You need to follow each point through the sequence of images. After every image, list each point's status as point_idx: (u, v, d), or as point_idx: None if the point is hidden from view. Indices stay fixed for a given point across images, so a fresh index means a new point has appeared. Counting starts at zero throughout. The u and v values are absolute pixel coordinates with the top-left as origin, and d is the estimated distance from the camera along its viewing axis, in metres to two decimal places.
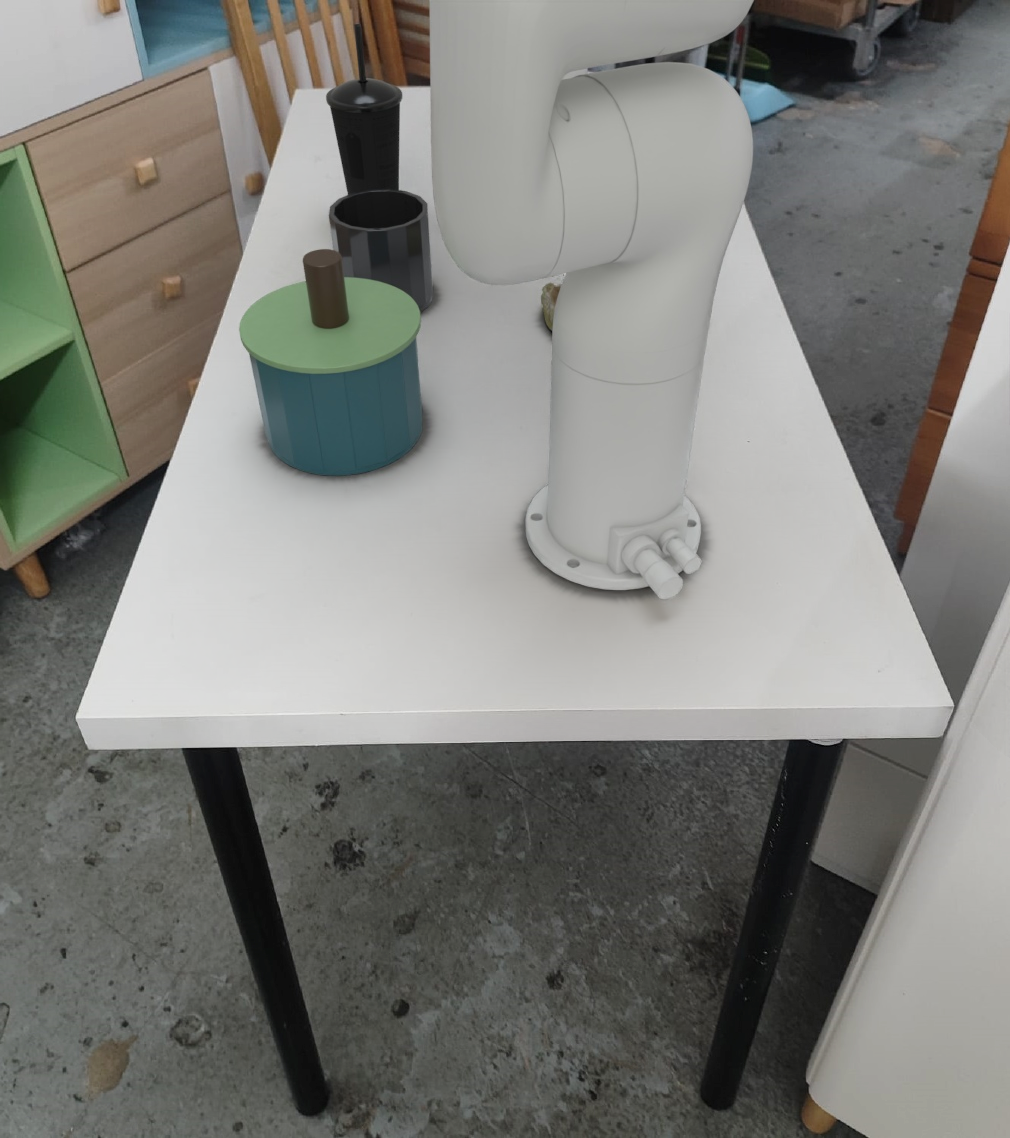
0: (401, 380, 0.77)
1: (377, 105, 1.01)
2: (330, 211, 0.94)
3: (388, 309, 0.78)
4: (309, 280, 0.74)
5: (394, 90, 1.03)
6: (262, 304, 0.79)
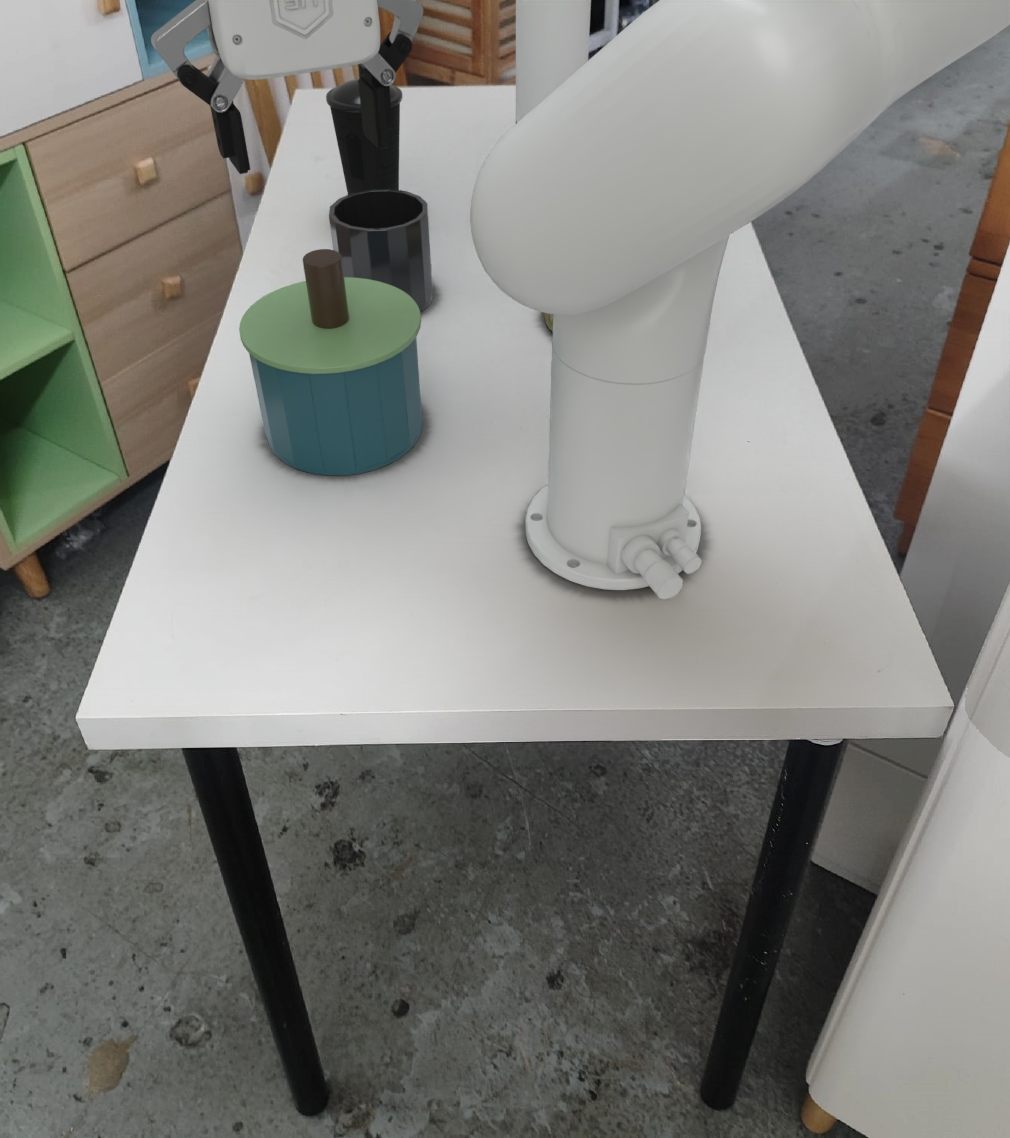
0: (401, 380, 0.77)
1: None
2: (330, 211, 0.94)
3: (388, 309, 0.78)
4: (309, 280, 0.74)
5: (394, 90, 1.03)
6: (262, 304, 0.79)
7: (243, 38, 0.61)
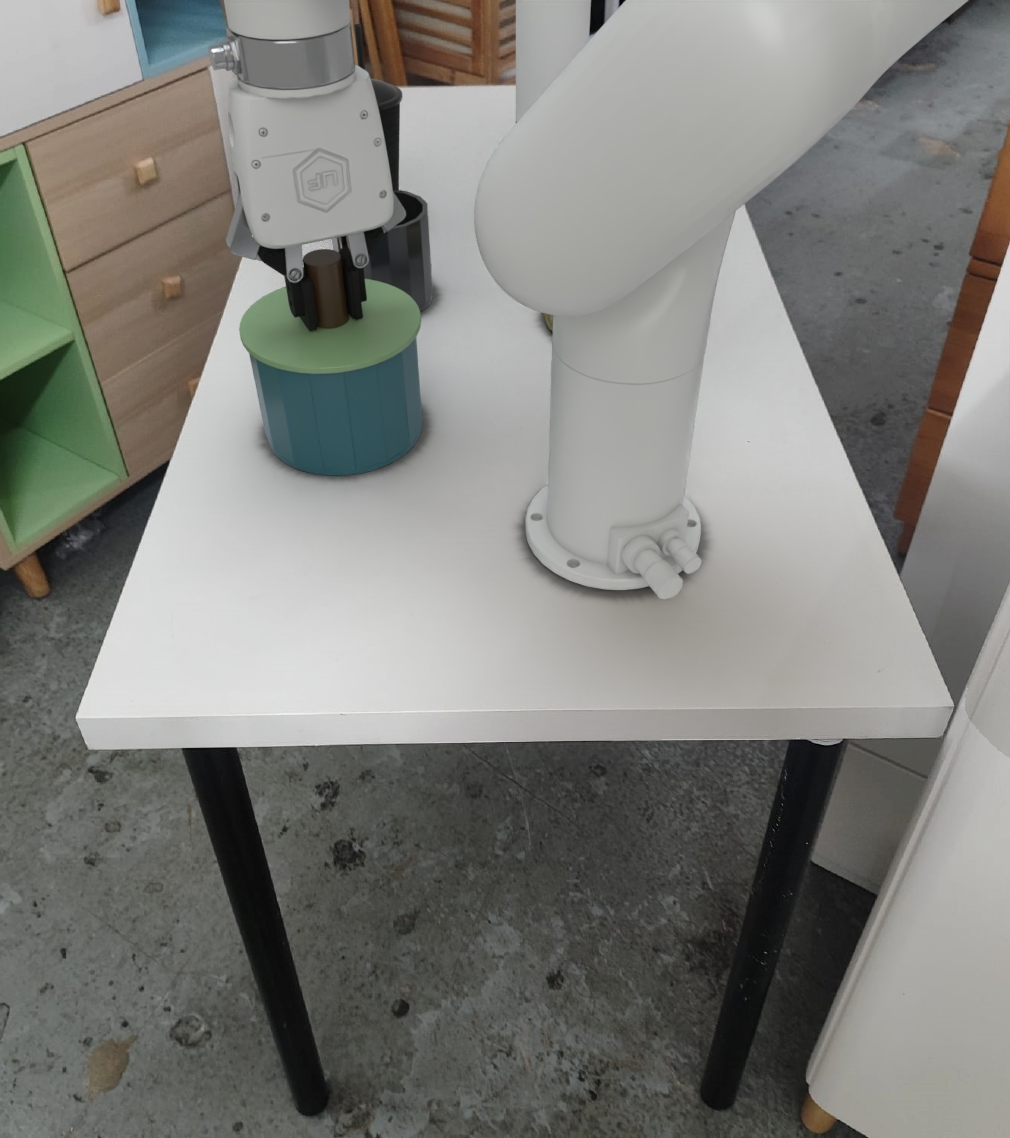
0: (401, 380, 0.77)
1: None
2: None
3: (388, 309, 0.78)
4: None
5: (394, 90, 1.03)
6: (262, 304, 0.79)
7: (271, 216, 0.68)
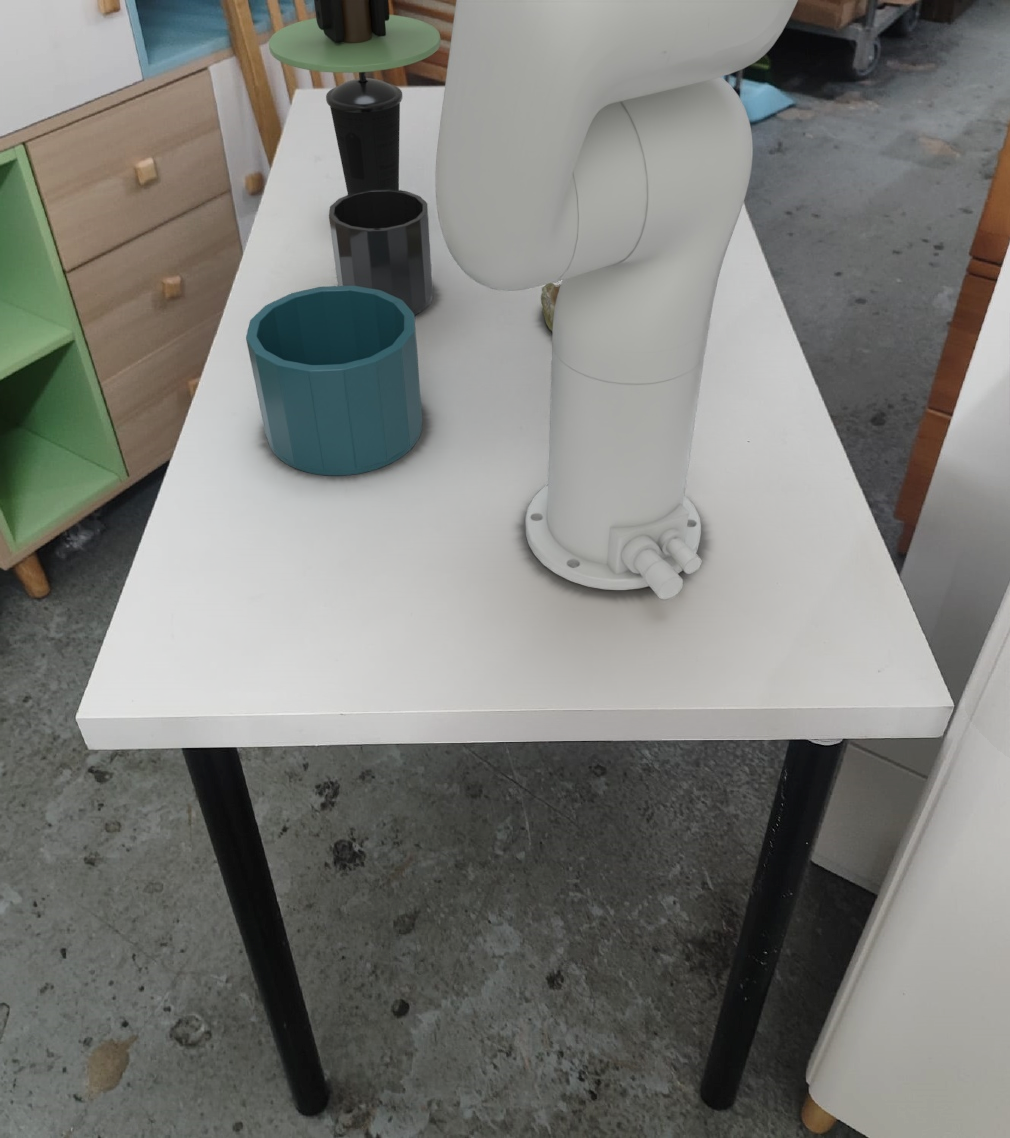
0: (401, 380, 0.77)
1: (377, 105, 1.01)
2: (330, 211, 0.94)
3: (409, 31, 0.83)
4: None
5: (394, 90, 1.03)
6: (289, 29, 0.83)
7: None
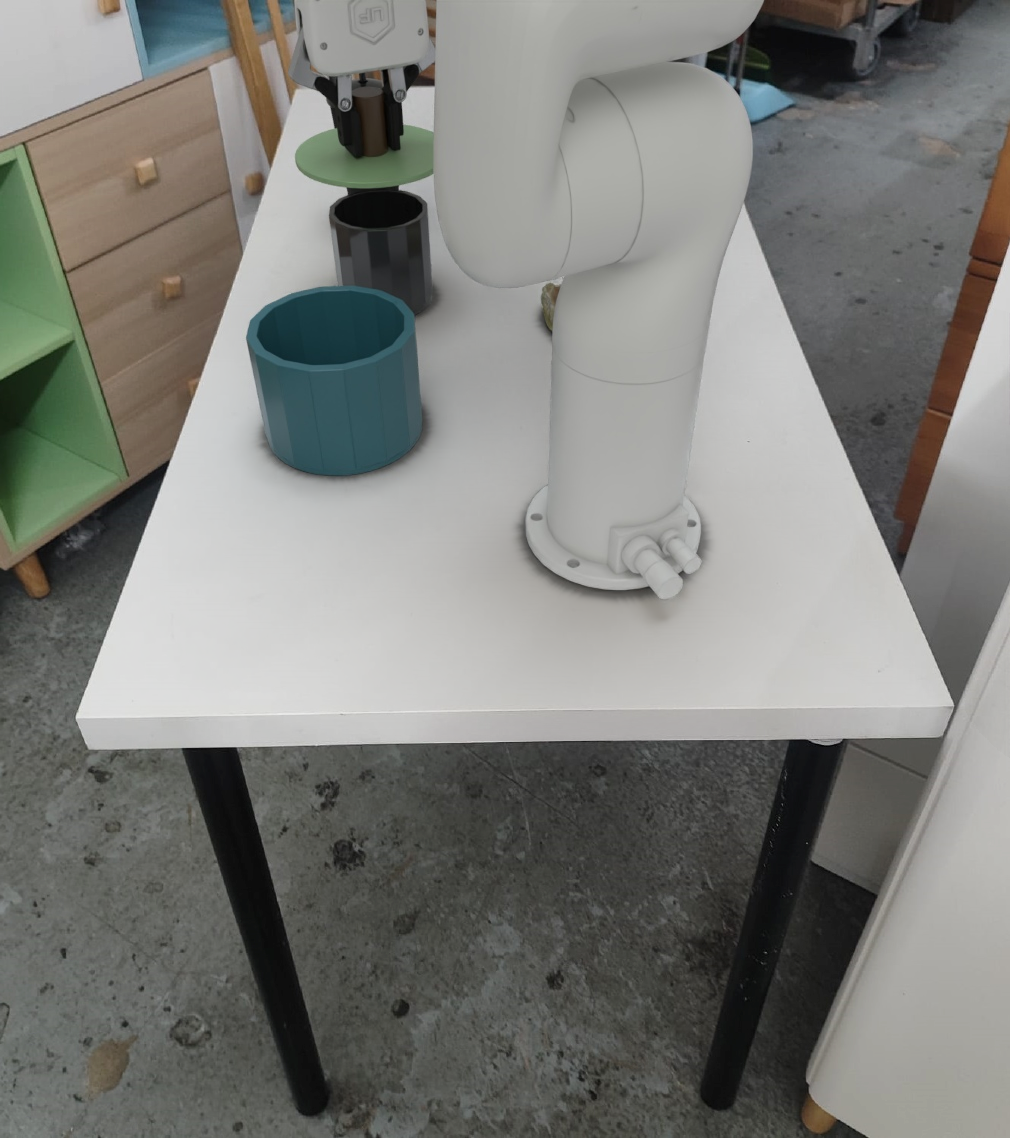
0: (401, 380, 0.77)
1: None
2: (330, 211, 0.94)
3: (421, 144, 0.92)
4: None
5: None
6: (313, 141, 0.92)
7: (328, 45, 0.81)
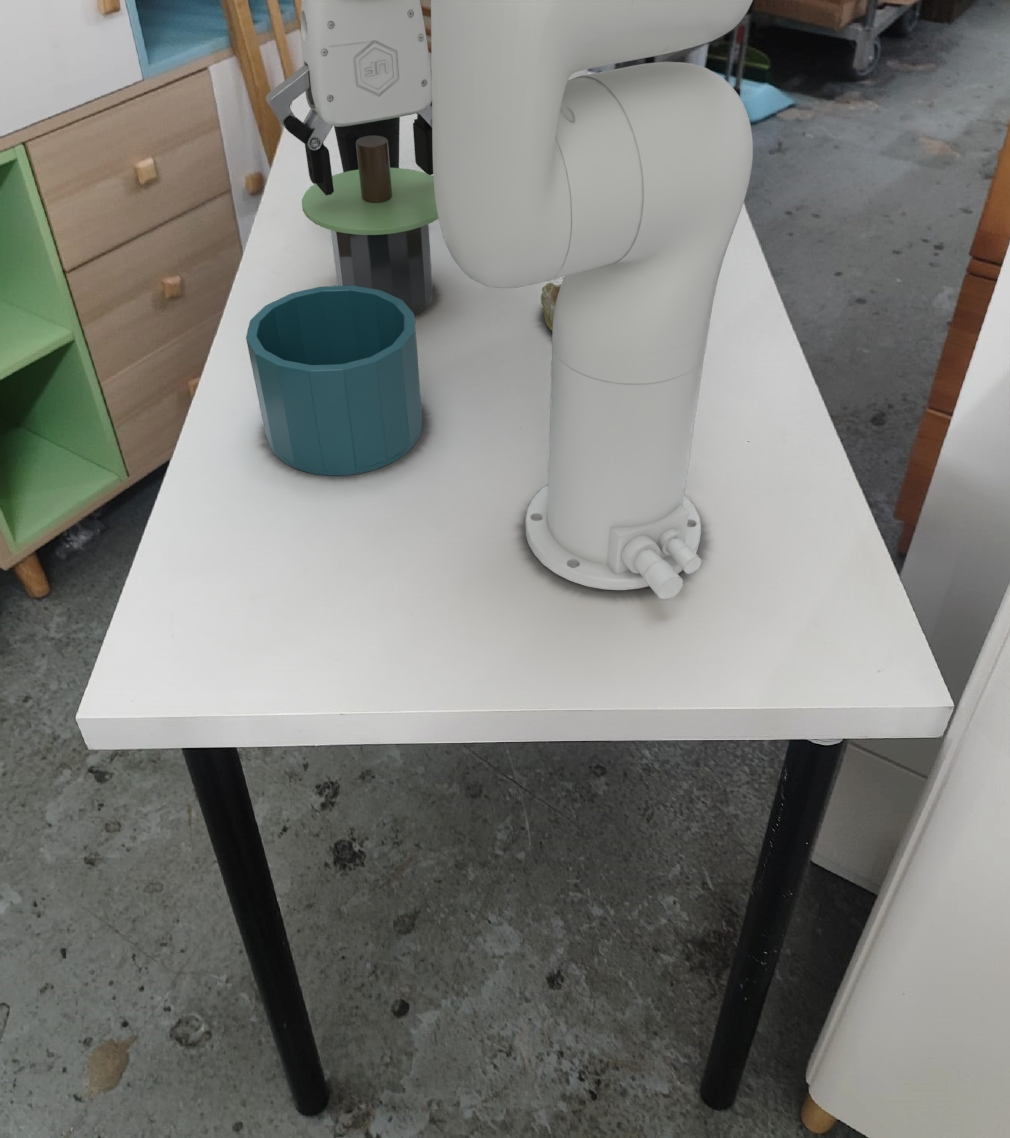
0: (401, 380, 0.77)
1: None
2: None
3: (424, 189, 0.94)
4: (361, 160, 0.90)
5: None
6: None
7: (334, 97, 0.83)
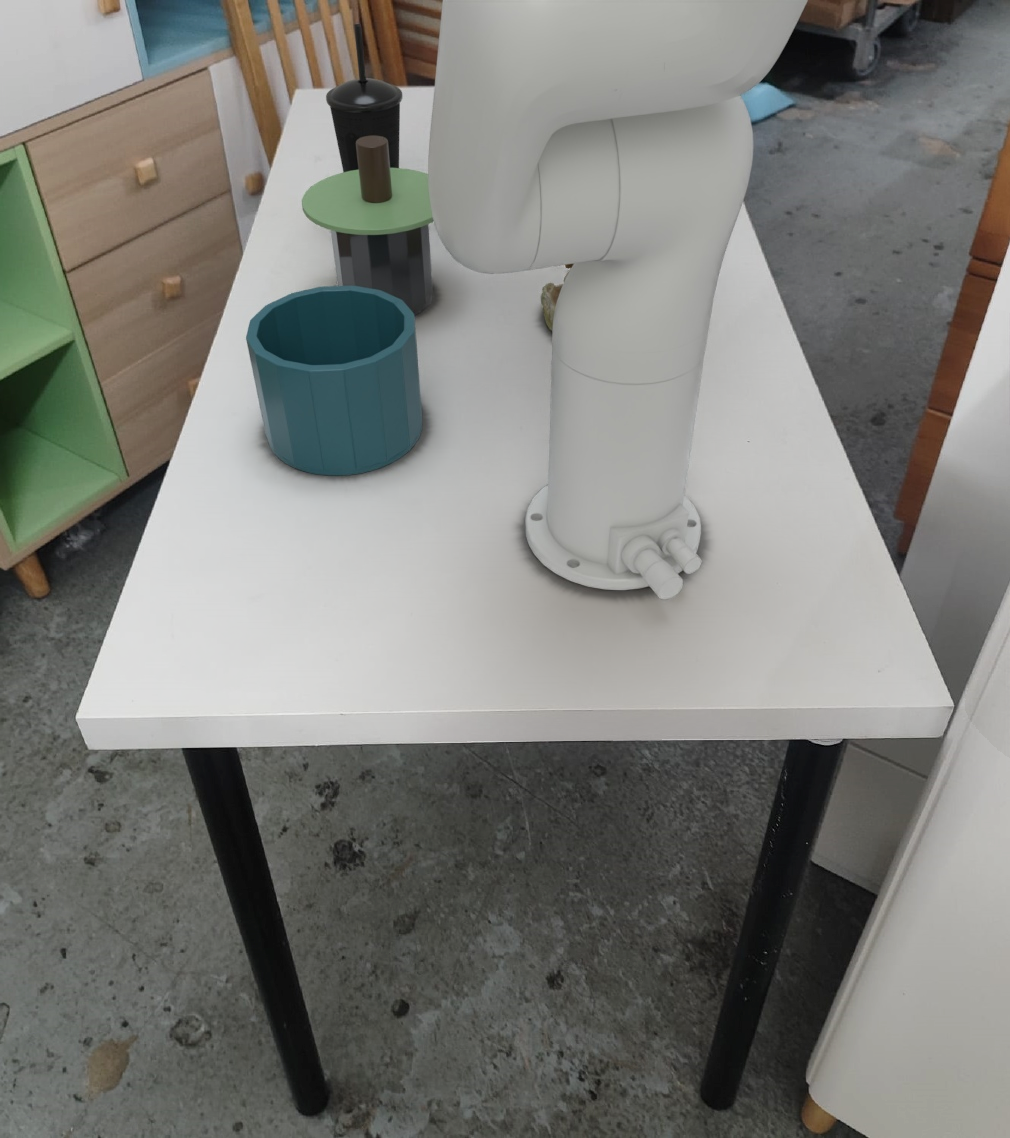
0: (401, 380, 0.77)
1: (377, 105, 1.01)
2: None
3: (424, 189, 0.94)
4: (361, 160, 0.90)
5: (394, 90, 1.03)
6: (319, 186, 0.95)
7: None
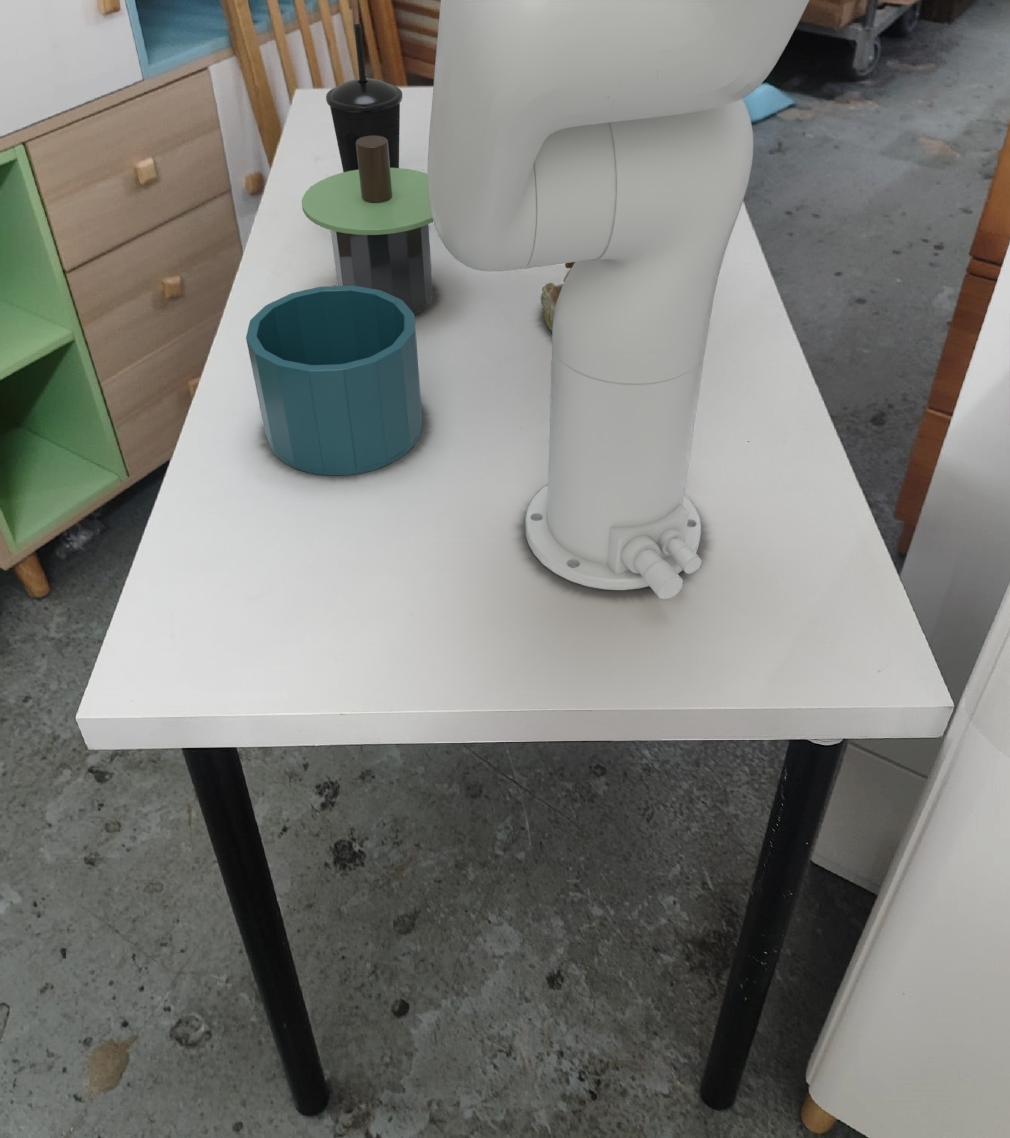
0: (401, 380, 0.77)
1: (377, 105, 1.01)
2: None
3: (424, 189, 0.94)
4: (361, 160, 0.90)
5: (394, 90, 1.03)
6: (319, 186, 0.95)
7: None
